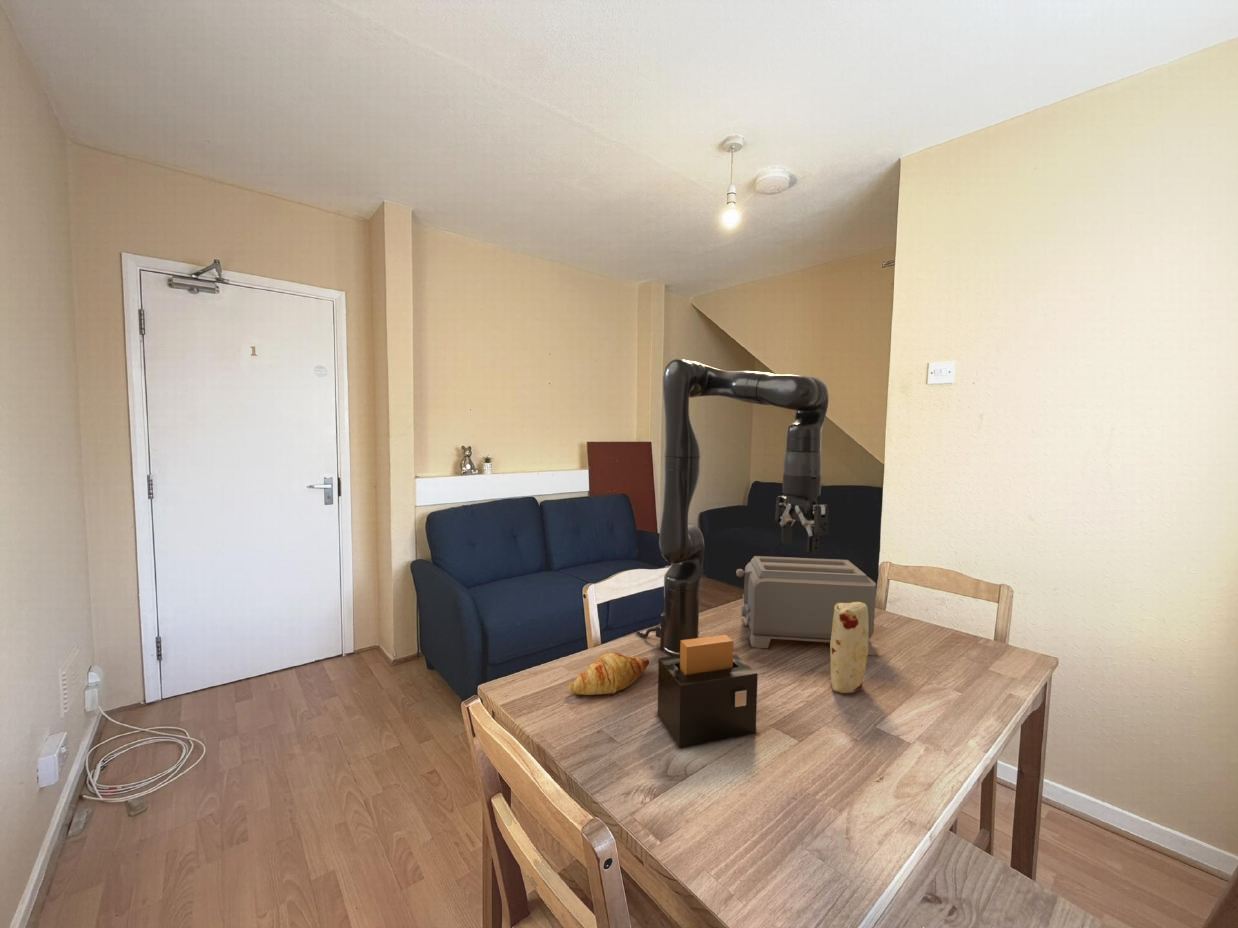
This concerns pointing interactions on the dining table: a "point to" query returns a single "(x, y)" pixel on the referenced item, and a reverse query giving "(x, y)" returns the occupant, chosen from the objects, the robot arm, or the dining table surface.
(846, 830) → the dining table surface
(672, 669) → the slot toaster
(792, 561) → the toaster
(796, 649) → the dining table surface
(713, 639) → the orange slab
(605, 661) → the croissant
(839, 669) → the food model
